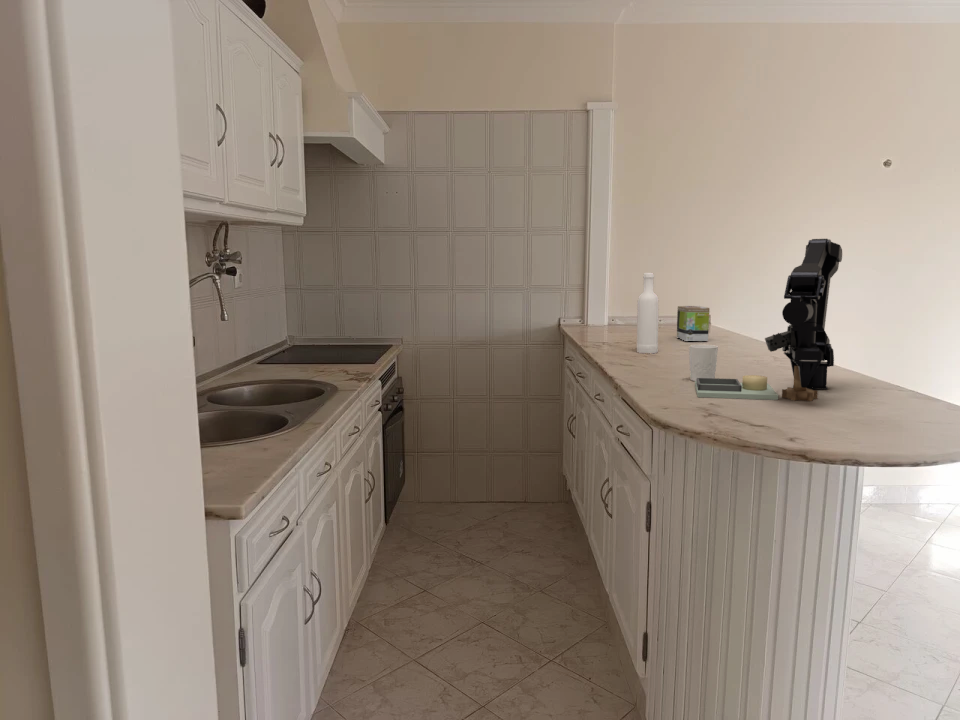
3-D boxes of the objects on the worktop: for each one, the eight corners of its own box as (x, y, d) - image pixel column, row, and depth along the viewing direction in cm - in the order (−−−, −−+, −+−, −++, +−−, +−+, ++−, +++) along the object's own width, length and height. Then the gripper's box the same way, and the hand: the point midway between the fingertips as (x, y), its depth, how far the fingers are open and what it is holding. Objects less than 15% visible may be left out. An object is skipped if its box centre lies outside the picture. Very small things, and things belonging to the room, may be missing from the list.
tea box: (709, 342, 290) (710, 307, 288) (685, 342, 291) (686, 307, 288) (698, 338, 305) (699, 305, 303) (675, 338, 305) (676, 305, 303)
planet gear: (813, 395, 175) (815, 364, 173) (820, 401, 167) (821, 369, 166) (779, 394, 177) (781, 363, 175) (784, 400, 170) (786, 368, 168)
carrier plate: (768, 387, 186) (768, 372, 186) (778, 399, 170) (778, 383, 170) (694, 385, 191) (695, 370, 191) (697, 397, 175) (698, 380, 174)
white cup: (698, 383, 195) (699, 348, 193) (683, 378, 202) (683, 345, 201) (722, 381, 197) (723, 346, 196) (706, 377, 204) (707, 343, 203)
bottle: (633, 353, 260) (635, 273, 256) (639, 350, 267) (640, 272, 262) (655, 354, 256) (656, 273, 252) (660, 351, 263) (661, 272, 259)
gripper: (763, 318, 180) (760, 377, 183) (774, 325, 162) (771, 389, 165) (809, 318, 177) (806, 378, 180) (825, 325, 160) (821, 391, 162)
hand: (800, 384), depth 172 cm, fingers open, 9 cm apart
